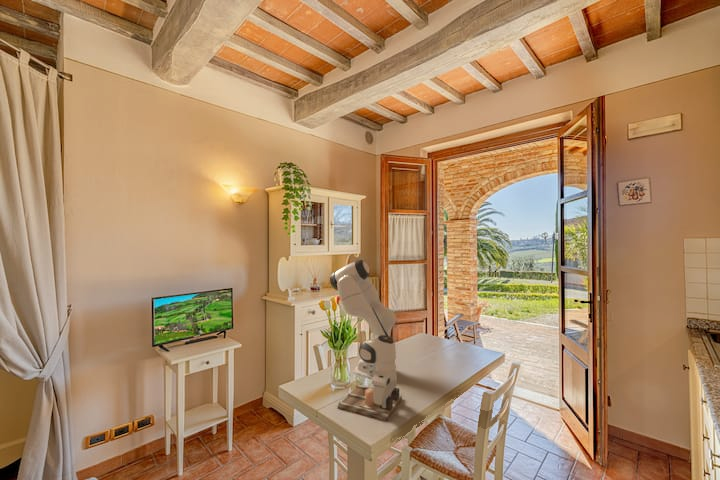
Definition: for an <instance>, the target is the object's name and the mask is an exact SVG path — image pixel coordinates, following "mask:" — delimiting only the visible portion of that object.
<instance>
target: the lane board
mask: <svg viewBox="0 0 720 480" xmlns="http://www.w3.org/2000/svg"><path fill="white" fill-rule="evenodd" d="M368 388H370V387H369V386H365V385H359V384H356V386H355V388H354V389H353V390H352V391H351V392H348V393H347V396H346V397H345V398H344V399H342V401H339V402H338V404H337V409H339V410H343V411H347V412H350V413H354V414H357V415H361V416H364V417H369V418H372V419H376V420H380V421H384V422H388V420H389V419H390V418H391V416H392V415H393V412H395V410H396V408H397V407H398V406H399V404H400V402H401V401H402V399H403V398H402V397H403V394H400V393H399V396H401V398H400V400H399V401H398V403H397V404H396V405H395V404H393V405H394V409H393V410H392V412H391V413H390V415H389V416H388V414H385V413H381V412H377V411H373V410H370V409H366V408H362V407H360V405H361V404H362V402H363V401H364V400H365V390H366V389H368Z"/></svg>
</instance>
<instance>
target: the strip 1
mask: <svg viewBox="0 0 720 480" xmlns="http://www.w3.org/2000/svg"><path fill="white" fill-rule="evenodd" d="M386 403H387V407H386V408H382V405H377V404H376V406H374V407H368V406H366V405H365V400H364V401H363V402H362V404H361V405H360V407H362V408H366V409H370V410H373V411H377V412H381V413H385V414H388V416H389V415H390V413H391V412H392V410H393V409H394V405H393V397H389V396H388V398H387V399H386Z"/></svg>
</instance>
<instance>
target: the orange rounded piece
mask: <svg viewBox="0 0 720 480" xmlns="http://www.w3.org/2000/svg"><path fill="white" fill-rule="evenodd" d="M365 405H366V406H368V407H374V406H376V404H375V403H374V401H373V387H369V388H368V389H366V390H365Z"/></svg>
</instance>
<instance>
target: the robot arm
mask: <svg viewBox="0 0 720 480" xmlns="http://www.w3.org/2000/svg"><path fill="white" fill-rule="evenodd" d="M370 271H371V270H370V267H369V265H368V264H367V262H366V261H365V260H363V259H358V260H355V261H354V262H350V263H348V264H346V265H344V266H343V267H341V268H339V269H338V270H336V271H333V273H331V274H330V276H329V283H330V285H331V287H332V288H333V289H334V290H336V291H337V293H338V296H339V299H340V302H341V303H340V304H341V305H342V308H343V310H344V311H345V313H346V314H347V315H349V316H351V317H355V318H360V319H362V320H364V321H365V322H366V323H367V324H368V326H369V329H370V330H371V333H370V339H368V340H365V341H363V342H361V343H360V344H359V347H358V355H359V358H360V359H358V360H359V361H358V364H357V366H355V368H354V369H353V374H355V373H357V374H356V375H358V374H359V375H358V376H361V375H363V376H362V377H364V376H366V377H365V378H367V379H371V384H372V385H373V386H372V388H373V401H374V403H375V404H377V405H382V408H386V407H387V403H386V399H387V398H388V396H389V397H391V393H392V391H393V390H394V388H397V385H398V376H397V375H398V374H397V365H396V358H397V348H396V344H395V341H394V338H393V337H391V333H392V330H393V329H392V328H393V326H394V325H395V324H396V322H397V316H396V314H395V312H394V311H393V310H392V309H391V308H389V307H387V306H385V305H383V303H382V301H381V299H380V296H379V295H380V294H379V292H378V291H377V289H376V286H374V283H373V282H372V281H371V278H369V276H370V273H371V272H370Z"/></svg>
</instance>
